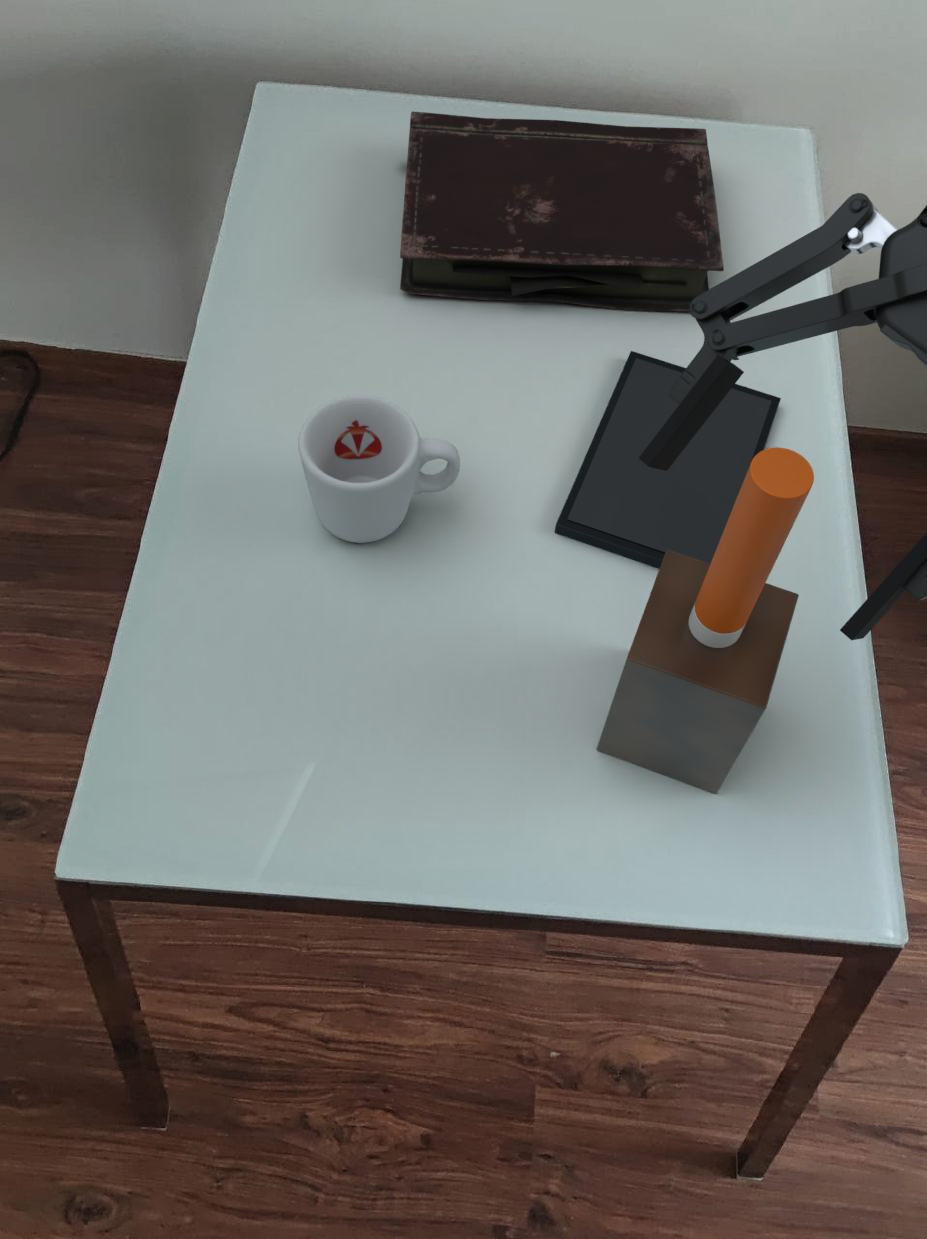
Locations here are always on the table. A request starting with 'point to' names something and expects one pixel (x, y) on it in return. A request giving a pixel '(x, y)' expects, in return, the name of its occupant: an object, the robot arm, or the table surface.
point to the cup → (368, 465)
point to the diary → (558, 212)
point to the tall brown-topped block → (694, 681)
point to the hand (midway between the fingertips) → (747, 546)
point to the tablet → (656, 499)
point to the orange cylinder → (750, 544)
